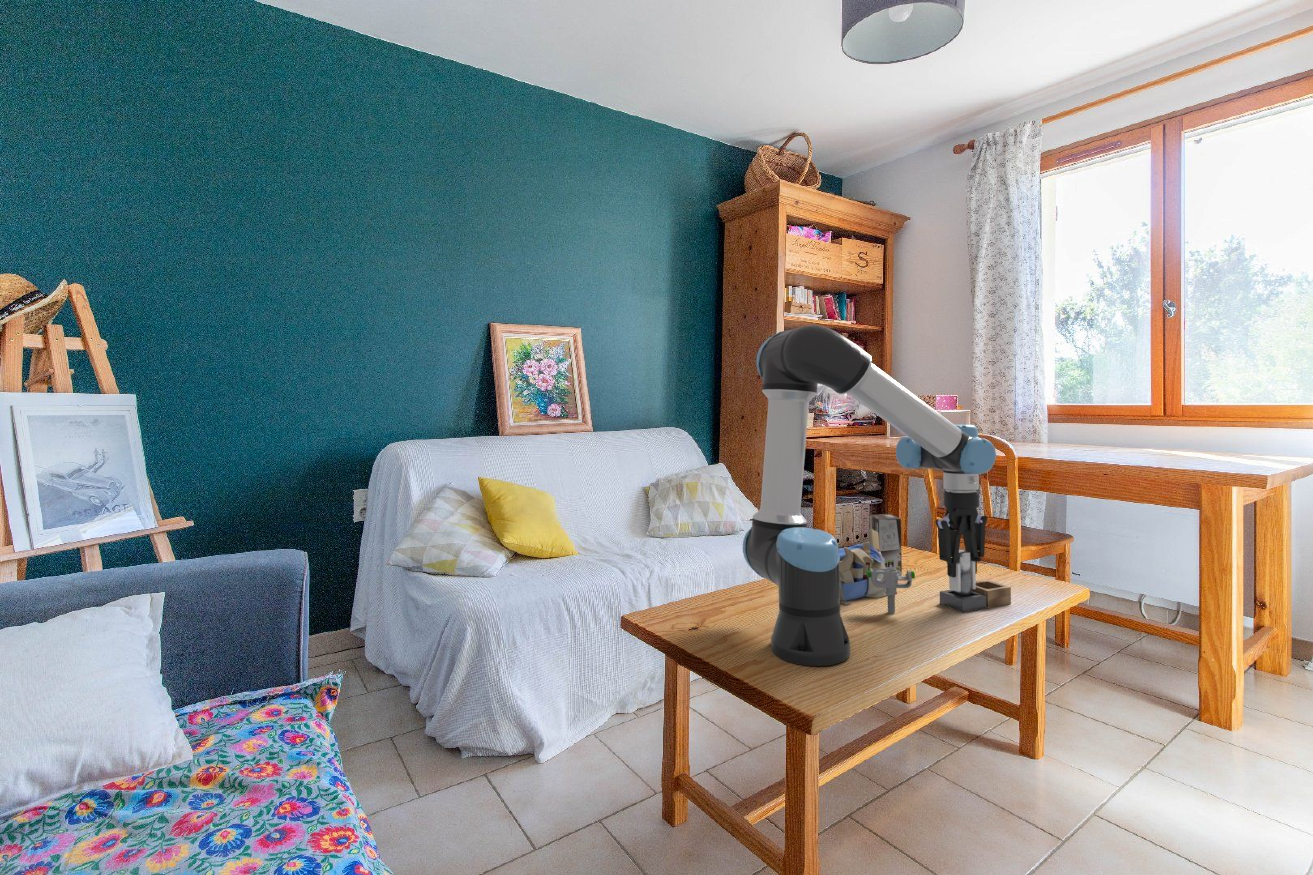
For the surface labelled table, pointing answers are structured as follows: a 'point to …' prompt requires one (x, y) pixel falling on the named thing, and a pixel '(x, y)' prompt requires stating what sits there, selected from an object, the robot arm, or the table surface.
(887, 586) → the mechanical component
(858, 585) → the toy tool belt
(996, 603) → the open square brown box
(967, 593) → the dome-ended metal rod
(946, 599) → the socket
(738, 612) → the table surface
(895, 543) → the grey printed carton
